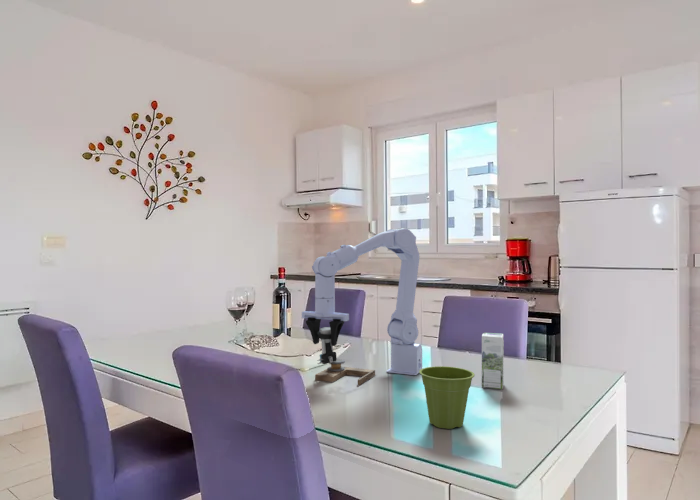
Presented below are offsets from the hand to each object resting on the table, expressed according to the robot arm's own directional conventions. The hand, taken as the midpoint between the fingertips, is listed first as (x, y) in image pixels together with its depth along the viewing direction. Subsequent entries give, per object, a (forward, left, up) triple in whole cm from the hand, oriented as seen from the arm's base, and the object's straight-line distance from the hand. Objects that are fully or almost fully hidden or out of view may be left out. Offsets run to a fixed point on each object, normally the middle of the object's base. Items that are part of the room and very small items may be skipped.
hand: (325, 344), depth 145 cm
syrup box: (-46, -12, -10) cm, 48 cm away
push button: (0, -1, -6) cm, 6 cm away
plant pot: (-41, +22, -10) cm, 47 cm away
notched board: (-5, -4, -10) cm, 12 cm away
